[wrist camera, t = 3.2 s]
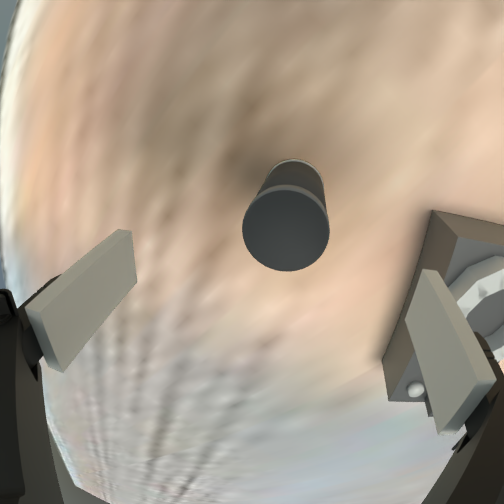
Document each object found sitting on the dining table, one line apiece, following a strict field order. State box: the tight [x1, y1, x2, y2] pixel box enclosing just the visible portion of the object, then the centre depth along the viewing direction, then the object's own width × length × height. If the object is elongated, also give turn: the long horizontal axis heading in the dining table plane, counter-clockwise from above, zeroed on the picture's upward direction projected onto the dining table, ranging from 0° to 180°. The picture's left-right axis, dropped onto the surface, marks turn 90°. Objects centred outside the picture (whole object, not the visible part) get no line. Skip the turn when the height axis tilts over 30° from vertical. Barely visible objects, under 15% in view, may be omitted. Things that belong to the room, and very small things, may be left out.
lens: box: [242, 159, 330, 271], centre depth 22 cm, size 5×5×10 cm
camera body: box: [382, 210, 504, 417], centre depth 25 cm, size 18×11×8 cm, turn 177°
